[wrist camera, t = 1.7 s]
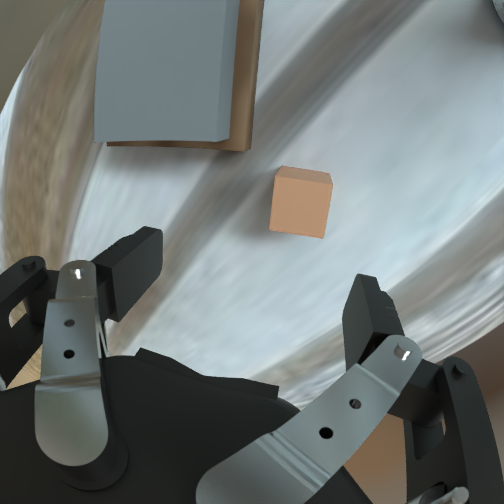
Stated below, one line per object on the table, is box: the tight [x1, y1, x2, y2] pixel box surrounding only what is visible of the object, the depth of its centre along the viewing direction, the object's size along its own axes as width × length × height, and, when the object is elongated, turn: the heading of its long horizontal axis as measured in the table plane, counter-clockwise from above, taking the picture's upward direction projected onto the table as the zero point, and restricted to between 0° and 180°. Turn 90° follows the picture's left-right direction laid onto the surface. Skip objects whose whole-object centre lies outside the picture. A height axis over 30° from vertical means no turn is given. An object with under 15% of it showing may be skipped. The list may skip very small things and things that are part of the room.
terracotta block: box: [269, 166, 333, 239], centre depth 28 cm, size 5×5×6 cm
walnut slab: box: [107, 0, 264, 152], centre depth 26 cm, size 16×18×4 cm
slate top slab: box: [94, 0, 240, 142], centre depth 22 cm, size 13×16×4 cm
